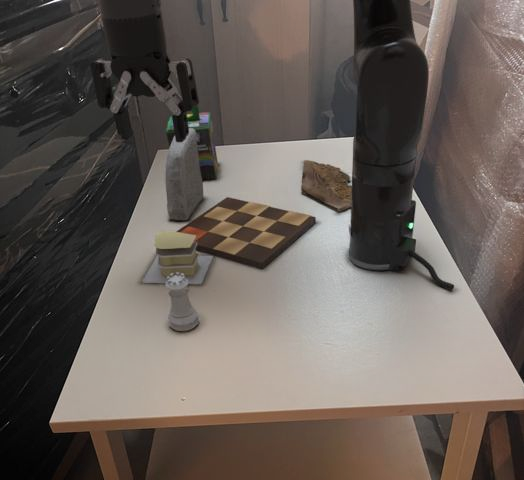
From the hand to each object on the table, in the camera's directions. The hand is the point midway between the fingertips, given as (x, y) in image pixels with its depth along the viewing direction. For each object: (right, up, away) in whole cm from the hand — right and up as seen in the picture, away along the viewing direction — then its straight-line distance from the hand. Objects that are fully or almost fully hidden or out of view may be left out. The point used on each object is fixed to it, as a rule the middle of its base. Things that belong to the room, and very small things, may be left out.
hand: (154, 139), depth 84 cm
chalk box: (+1, +9, +46) cm, 47 cm away
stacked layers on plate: (+1, -17, +15) cm, 22 cm away
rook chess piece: (+4, -26, +3) cm, 27 cm away
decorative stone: (0, -3, +32) cm, 32 cm away
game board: (+12, -9, +23) cm, 27 cm away
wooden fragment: (+28, +4, +37) cm, 46 cm away
